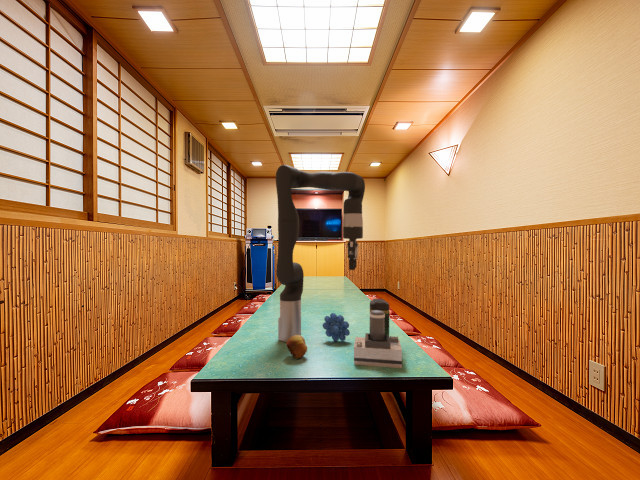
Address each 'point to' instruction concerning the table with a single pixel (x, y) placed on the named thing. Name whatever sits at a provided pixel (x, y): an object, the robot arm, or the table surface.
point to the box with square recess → (378, 352)
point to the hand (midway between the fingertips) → (352, 268)
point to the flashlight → (377, 325)
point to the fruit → (297, 346)
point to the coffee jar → (382, 306)
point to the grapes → (336, 327)
